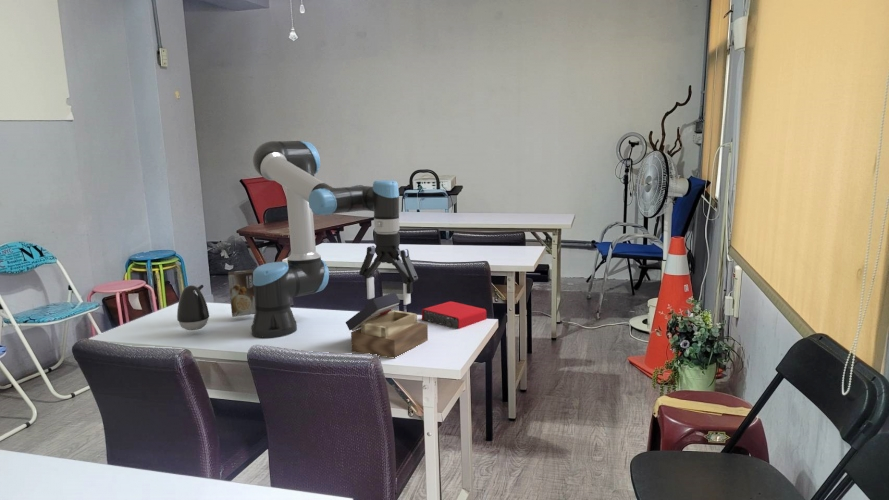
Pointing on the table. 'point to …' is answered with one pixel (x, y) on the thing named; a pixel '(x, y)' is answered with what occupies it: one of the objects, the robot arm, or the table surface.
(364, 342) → the display riser
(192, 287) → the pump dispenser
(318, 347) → the table surface
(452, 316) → the red device housing
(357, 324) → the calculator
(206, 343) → the table surface
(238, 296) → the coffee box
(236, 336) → the table surface
